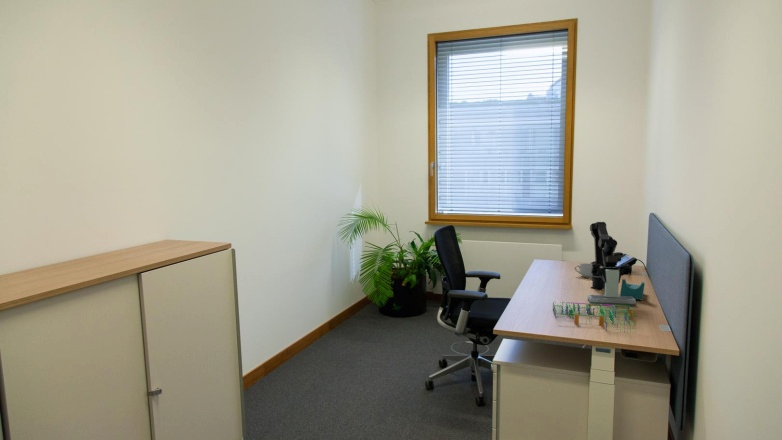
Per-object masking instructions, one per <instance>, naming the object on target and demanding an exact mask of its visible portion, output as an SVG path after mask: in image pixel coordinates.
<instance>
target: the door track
mask: <svg viewBox="0 0 782 440" xmlns="http://www.w3.org/2000/svg"><path fill="white" fill-rule="evenodd" d="M636 300H637V299H634V298H633V297H632V296H620V295H618V297H606V296H605V294H587V303H588V304H598V306H600V304H607V305H608V306H611V305H613V306H616V305H617V306H618V305H626V306H627V307H628V306H630V307H637V303H636ZM607 305H606V306H607ZM626 306H625V307H626Z"/></svg>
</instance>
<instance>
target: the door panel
mask: <svg viewBox="0 0 782 440" xmlns="http://www.w3.org/2000/svg"><path fill="white" fill-rule="evenodd" d="M605 276H606V283H605V289H604V295H605V296H606V297H618V296H619V288H620V286H619V284H620V283H619V270H611V269H606V273H605Z"/></svg>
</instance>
